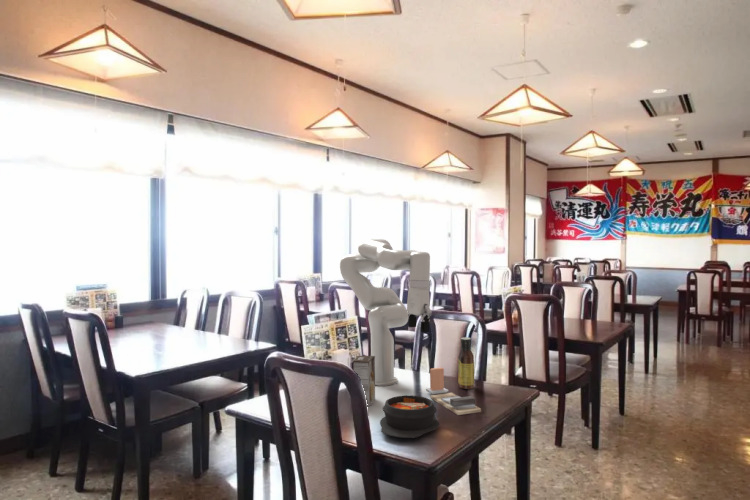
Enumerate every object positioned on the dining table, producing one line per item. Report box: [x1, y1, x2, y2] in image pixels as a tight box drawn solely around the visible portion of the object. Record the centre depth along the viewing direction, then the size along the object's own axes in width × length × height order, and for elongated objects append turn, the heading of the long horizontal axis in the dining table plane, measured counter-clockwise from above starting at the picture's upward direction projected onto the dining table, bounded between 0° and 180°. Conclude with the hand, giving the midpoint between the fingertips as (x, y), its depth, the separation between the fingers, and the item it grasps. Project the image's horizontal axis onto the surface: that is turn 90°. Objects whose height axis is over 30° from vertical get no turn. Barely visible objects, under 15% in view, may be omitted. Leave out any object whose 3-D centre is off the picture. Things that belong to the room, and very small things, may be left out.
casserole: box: [379, 394, 440, 439], centre depth 159 cm, size 25×19×8 cm
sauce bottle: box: [457, 336, 475, 390], centre depth 204 cm, size 6×6×20 cm
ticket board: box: [430, 392, 482, 416], centre depth 182 cm, size 20×9×4 cm, turn 21°
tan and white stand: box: [425, 367, 449, 395], centre depth 195 cm, size 5×7×9 cm
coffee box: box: [352, 355, 376, 407], centre depth 186 cm, size 9×6×16 cm
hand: (418, 329), depth 194 cm, fingers open, 9 cm apart
